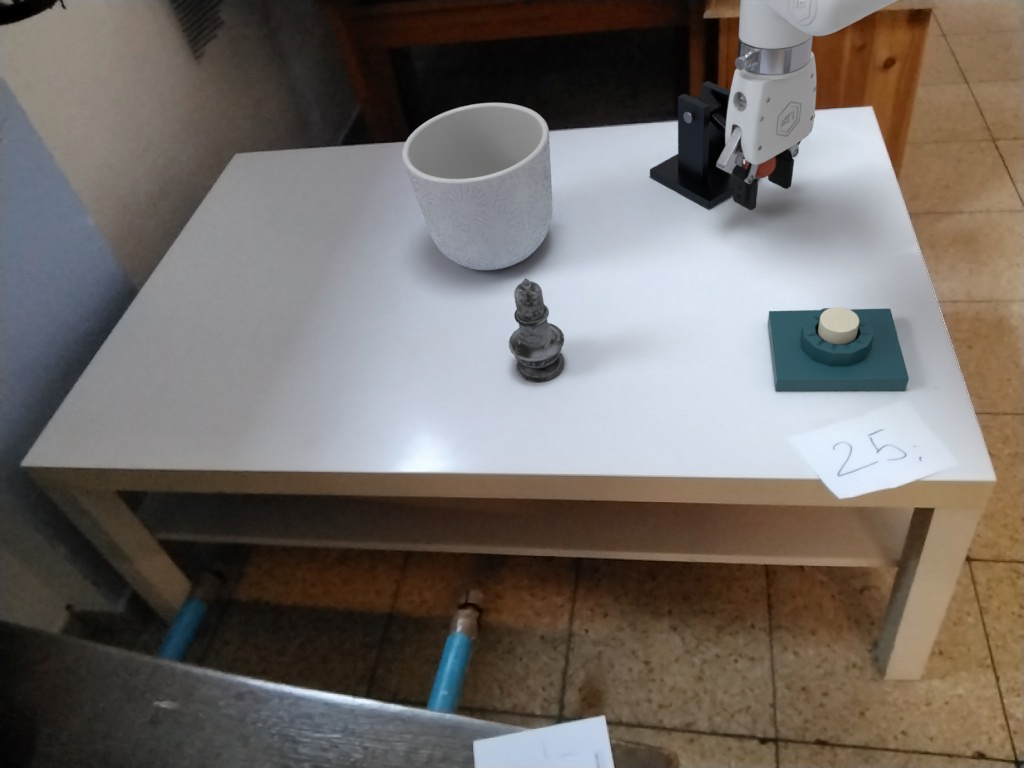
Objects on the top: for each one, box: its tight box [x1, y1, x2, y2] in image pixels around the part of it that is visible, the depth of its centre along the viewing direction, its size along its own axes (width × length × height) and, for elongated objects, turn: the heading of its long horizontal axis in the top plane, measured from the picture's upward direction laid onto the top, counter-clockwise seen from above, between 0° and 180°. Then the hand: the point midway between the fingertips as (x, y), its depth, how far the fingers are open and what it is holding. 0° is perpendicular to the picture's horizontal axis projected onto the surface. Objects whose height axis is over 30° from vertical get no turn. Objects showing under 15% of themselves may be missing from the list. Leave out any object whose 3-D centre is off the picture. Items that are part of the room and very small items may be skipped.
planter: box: [401, 102, 553, 271], centre depth 99 cm, size 17×17×15 cm
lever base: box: [649, 80, 760, 210], centre depth 104 cm, size 11×9×12 cm
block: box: [767, 307, 910, 392], centre depth 83 cm, size 12×10×4 cm
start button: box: [818, 306, 859, 345], centre depth 81 cm, size 4×4×2 cm
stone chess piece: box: [508, 278, 566, 383], centre depth 85 cm, size 6×6×12 cm
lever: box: [693, 90, 776, 180], centre depth 100 cm, size 13×4×4 cm, turn 35°
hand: (762, 193), depth 101 cm, fingers open, 5 cm apart
